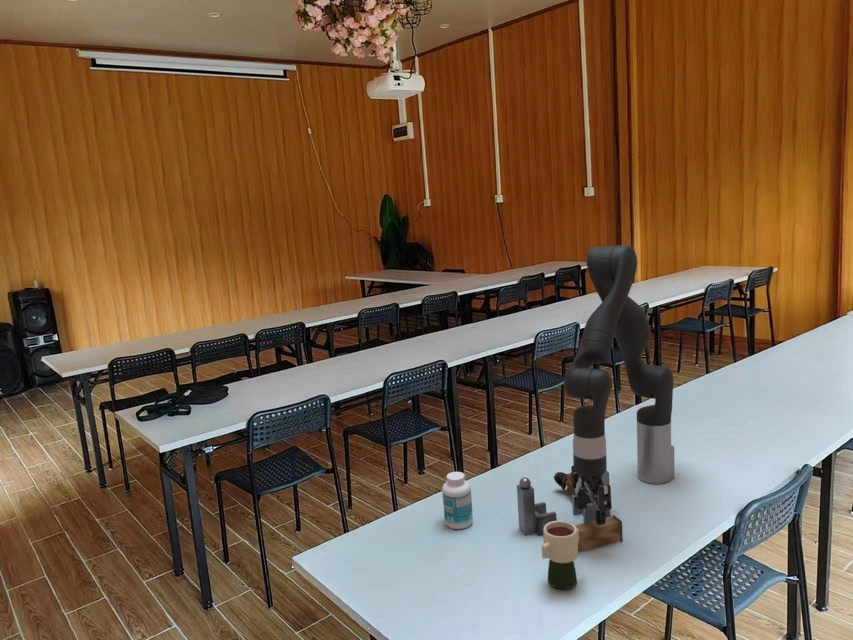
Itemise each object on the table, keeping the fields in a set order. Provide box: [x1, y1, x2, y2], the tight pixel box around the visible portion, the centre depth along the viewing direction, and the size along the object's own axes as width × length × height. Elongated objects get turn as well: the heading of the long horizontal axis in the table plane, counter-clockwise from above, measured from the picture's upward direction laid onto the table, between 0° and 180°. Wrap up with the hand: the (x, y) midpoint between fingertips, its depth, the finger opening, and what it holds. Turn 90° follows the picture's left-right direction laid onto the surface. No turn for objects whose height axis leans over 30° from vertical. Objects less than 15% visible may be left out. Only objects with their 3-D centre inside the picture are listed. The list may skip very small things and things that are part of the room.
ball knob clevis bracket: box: [516, 470, 611, 537], centre depth 167 cm, size 24×7×14 cm, turn 106°
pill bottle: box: [441, 471, 474, 530], centre depth 171 cm, size 8×7×14 cm
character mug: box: [541, 520, 579, 589], centre depth 142 cm, size 11×7×13 cm, turn 125°
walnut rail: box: [574, 514, 623, 553], centre depth 157 cm, size 14×3×5 cm, turn 107°
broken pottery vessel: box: [553, 471, 586, 501], centre depth 183 cm, size 12×10×8 cm
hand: (591, 515), depth 156 cm, fingers open, 8 cm apart
